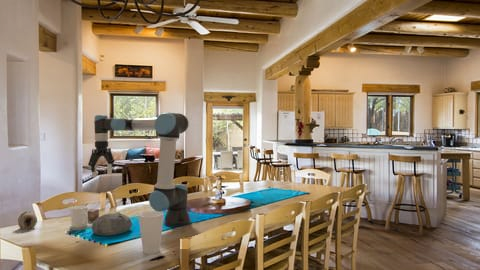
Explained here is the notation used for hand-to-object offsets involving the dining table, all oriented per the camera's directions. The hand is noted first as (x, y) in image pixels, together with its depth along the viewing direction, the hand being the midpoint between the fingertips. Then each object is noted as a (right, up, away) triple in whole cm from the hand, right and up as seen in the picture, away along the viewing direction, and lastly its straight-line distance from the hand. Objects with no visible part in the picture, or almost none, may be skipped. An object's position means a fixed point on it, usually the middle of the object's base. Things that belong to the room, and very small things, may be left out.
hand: (102, 175), depth 212 cm
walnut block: (-7, -27, +3) cm, 28 cm away
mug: (-7, -27, -13) cm, 31 cm away
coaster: (-7, -28, -13) cm, 31 cm away
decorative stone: (+14, -28, -22) cm, 39 cm away
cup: (+43, -28, -53) cm, 74 cm away
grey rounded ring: (-36, -28, -15) cm, 48 cm away
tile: (-7, -27, +3) cm, 29 cm away
